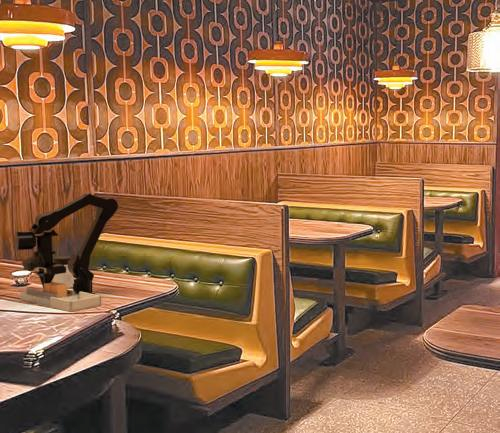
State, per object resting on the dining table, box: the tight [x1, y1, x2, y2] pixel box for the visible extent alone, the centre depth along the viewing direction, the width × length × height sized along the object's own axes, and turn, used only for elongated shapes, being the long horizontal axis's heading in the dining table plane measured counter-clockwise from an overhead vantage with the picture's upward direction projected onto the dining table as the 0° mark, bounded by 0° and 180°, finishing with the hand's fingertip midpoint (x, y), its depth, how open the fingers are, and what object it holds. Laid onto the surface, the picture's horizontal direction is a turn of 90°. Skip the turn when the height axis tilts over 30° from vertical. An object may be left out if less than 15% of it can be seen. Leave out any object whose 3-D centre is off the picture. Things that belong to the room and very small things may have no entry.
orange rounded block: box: [44, 281, 58, 292], centre depth 257 cm, size 4×4×4 cm
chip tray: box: [49, 292, 102, 313], centre depth 248 cm, size 13×12×4 cm
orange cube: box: [51, 283, 68, 297], centre depth 254 cm, size 4×4×4 cm
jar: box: [52, 255, 75, 289], centre depth 284 cm, size 9×8×12 cm
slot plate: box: [20, 287, 79, 308], centre depth 258 cm, size 13×19×4 cm
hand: (45, 290), depth 260 cm, fingers closed
